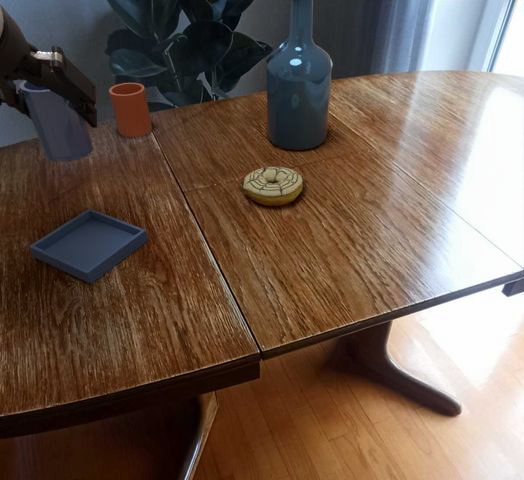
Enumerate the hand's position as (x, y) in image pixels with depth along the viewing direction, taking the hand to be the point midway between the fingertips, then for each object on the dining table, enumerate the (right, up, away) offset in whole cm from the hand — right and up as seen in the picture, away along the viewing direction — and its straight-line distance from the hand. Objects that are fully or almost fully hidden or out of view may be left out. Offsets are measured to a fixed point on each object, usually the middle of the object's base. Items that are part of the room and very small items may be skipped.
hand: (68, 119), depth 73 cm
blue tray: (+2, -20, +3) cm, 20 cm away
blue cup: (0, -5, 0) cm, 5 cm away
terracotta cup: (+2, +12, +32) cm, 34 cm away
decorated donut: (+33, -7, +14) cm, 36 cm away
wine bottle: (+38, +10, +30) cm, 50 cm away
